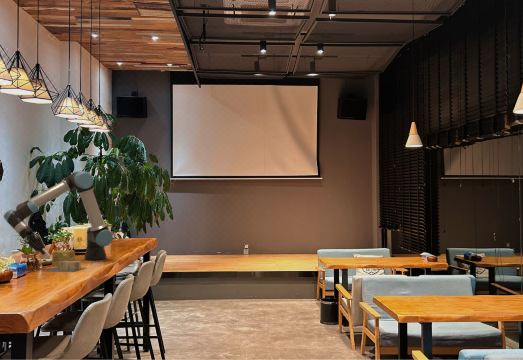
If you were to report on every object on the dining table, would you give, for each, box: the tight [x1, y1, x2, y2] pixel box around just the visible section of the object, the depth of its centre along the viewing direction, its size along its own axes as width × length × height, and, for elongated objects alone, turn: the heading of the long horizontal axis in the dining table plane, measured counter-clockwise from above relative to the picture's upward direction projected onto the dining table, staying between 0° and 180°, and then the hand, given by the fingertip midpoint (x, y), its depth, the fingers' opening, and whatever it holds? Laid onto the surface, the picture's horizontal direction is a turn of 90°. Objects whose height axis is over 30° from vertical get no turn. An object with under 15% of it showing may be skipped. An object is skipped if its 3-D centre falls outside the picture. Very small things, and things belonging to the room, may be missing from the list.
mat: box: [41, 266, 87, 273], centre depth 308 cm, size 16×22×1 cm
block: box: [58, 260, 82, 272], centre depth 307 cm, size 5×5×12 cm
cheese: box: [51, 249, 76, 267], centre depth 326 cm, size 10×11×10 cm
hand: (48, 257), depth 309 cm, fingers closed
